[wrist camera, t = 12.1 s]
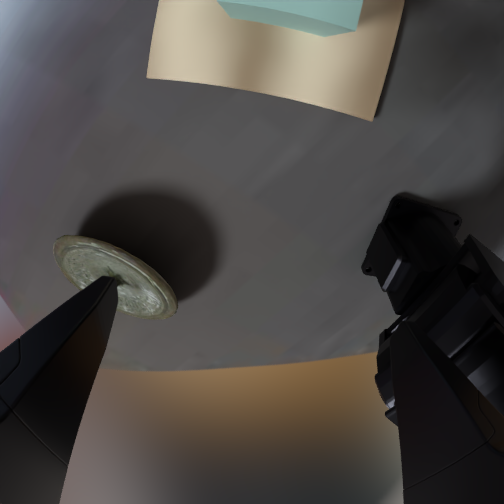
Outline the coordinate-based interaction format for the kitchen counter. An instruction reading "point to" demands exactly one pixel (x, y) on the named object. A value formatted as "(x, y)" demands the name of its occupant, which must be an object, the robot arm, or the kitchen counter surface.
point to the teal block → (299, 14)
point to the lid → (116, 275)
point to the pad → (277, 54)
